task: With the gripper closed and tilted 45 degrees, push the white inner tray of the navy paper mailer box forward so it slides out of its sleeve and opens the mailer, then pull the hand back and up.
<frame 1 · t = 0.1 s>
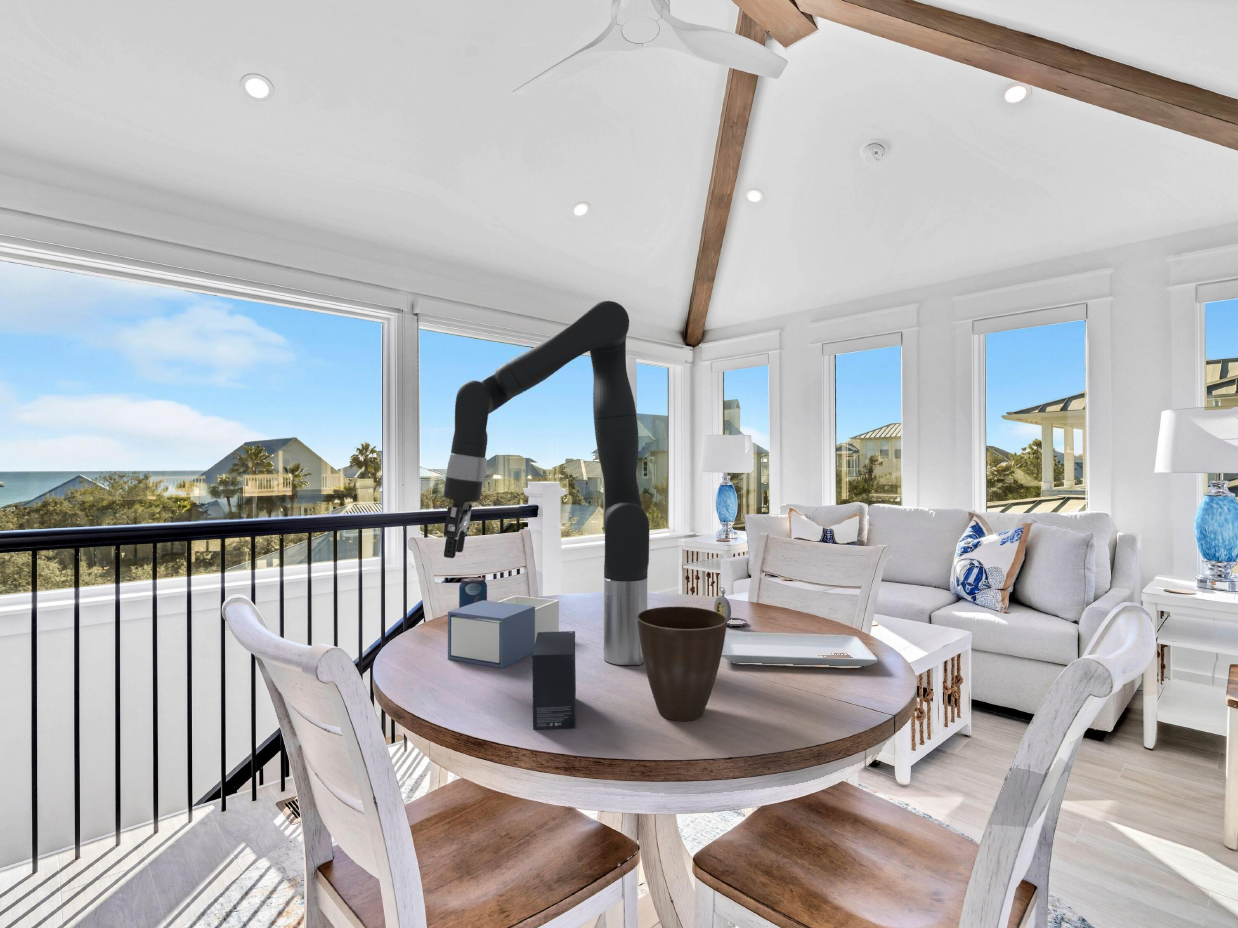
hand: (453, 554, 129), 22 cm above the table, tool pointing down, fingers open, 8 cm apart
pocket watch: (729, 625, 160), on the table
plant pot: (681, 713, 103), on the table
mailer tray: (492, 655, 134), resting on mailer sleeve, slide at 0.0 cm
tray: (791, 660, 133), on the table
soda can: (473, 626, 158), on the table
mailer sleeve: (492, 655, 134), on the table
small box: (555, 714, 103), on the table
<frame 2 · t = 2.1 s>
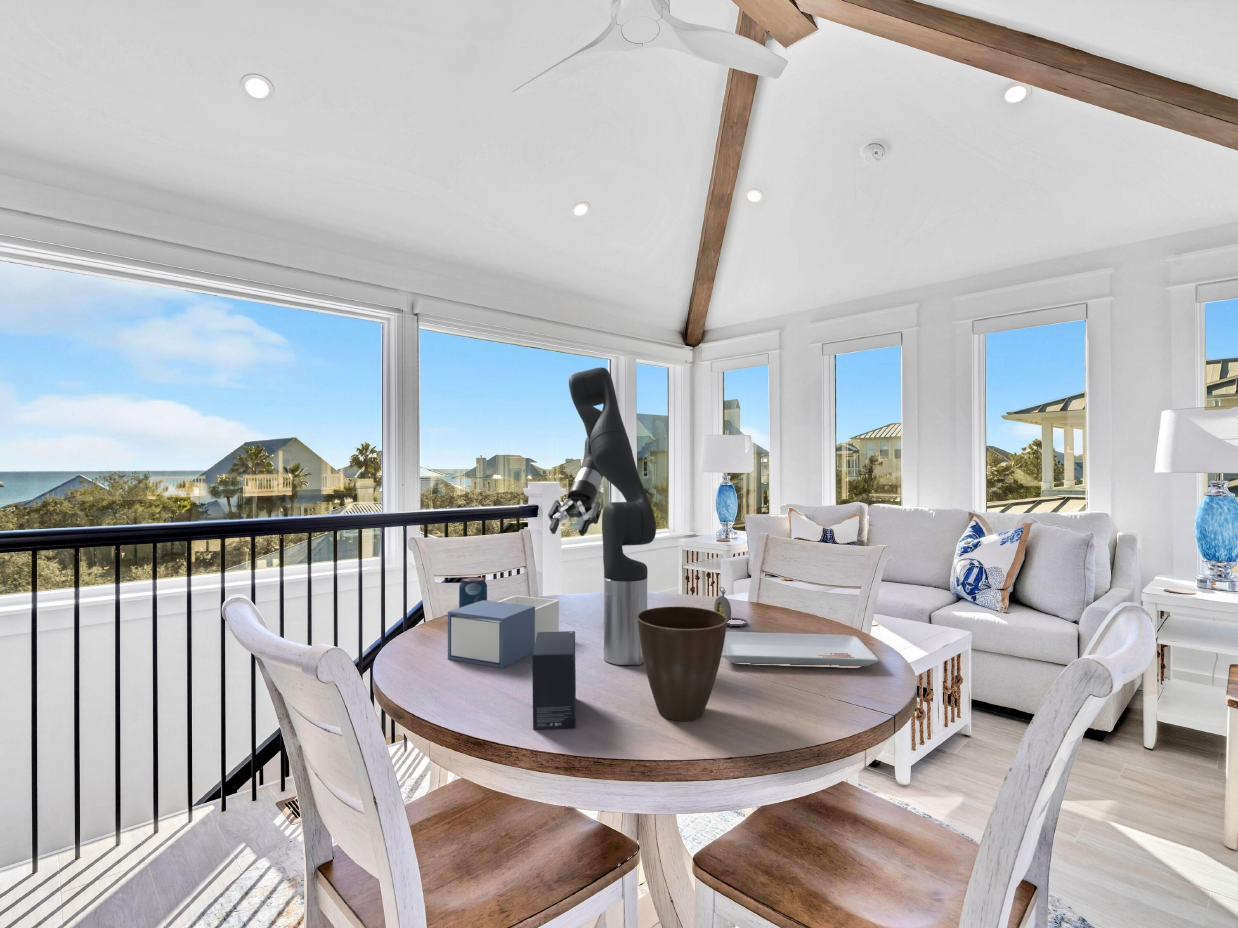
hand: (566, 533, 165), 23 cm above the table, tool tilted 45°, fingers open, 8 cm apart
nothing on the table moved.
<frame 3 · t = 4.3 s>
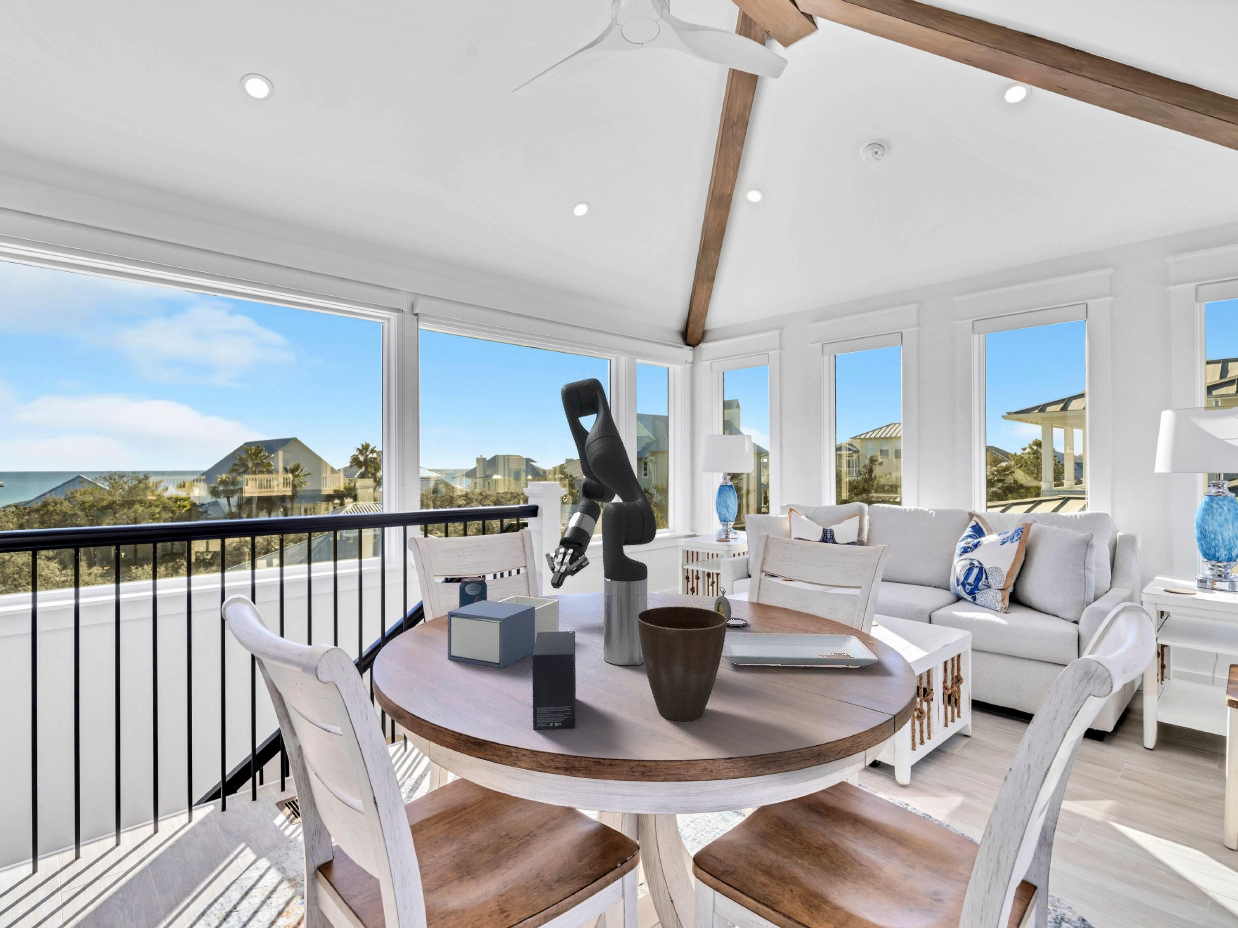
hand: (555, 586, 158), 10 cm above the table, tool tilted 45°, fingers closed
nothing on the table moved.
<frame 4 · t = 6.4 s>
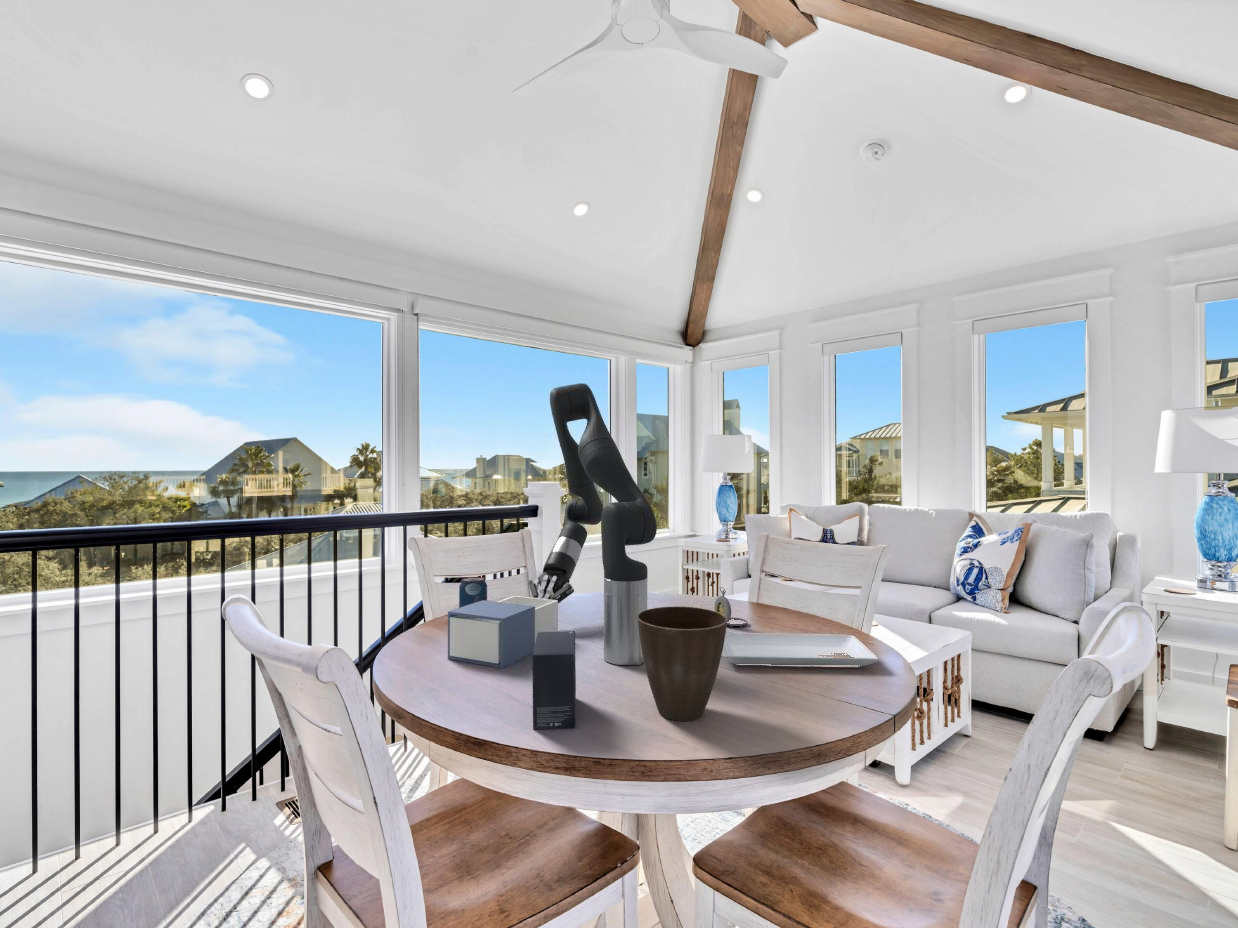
hand: (537, 616, 150), 4 cm above the table, tool tilted 45°, fingers closed
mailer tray: (490, 655, 133), resting on mailer sleeve, slide at 0.4 cm, touching gripper
everything else where it was.
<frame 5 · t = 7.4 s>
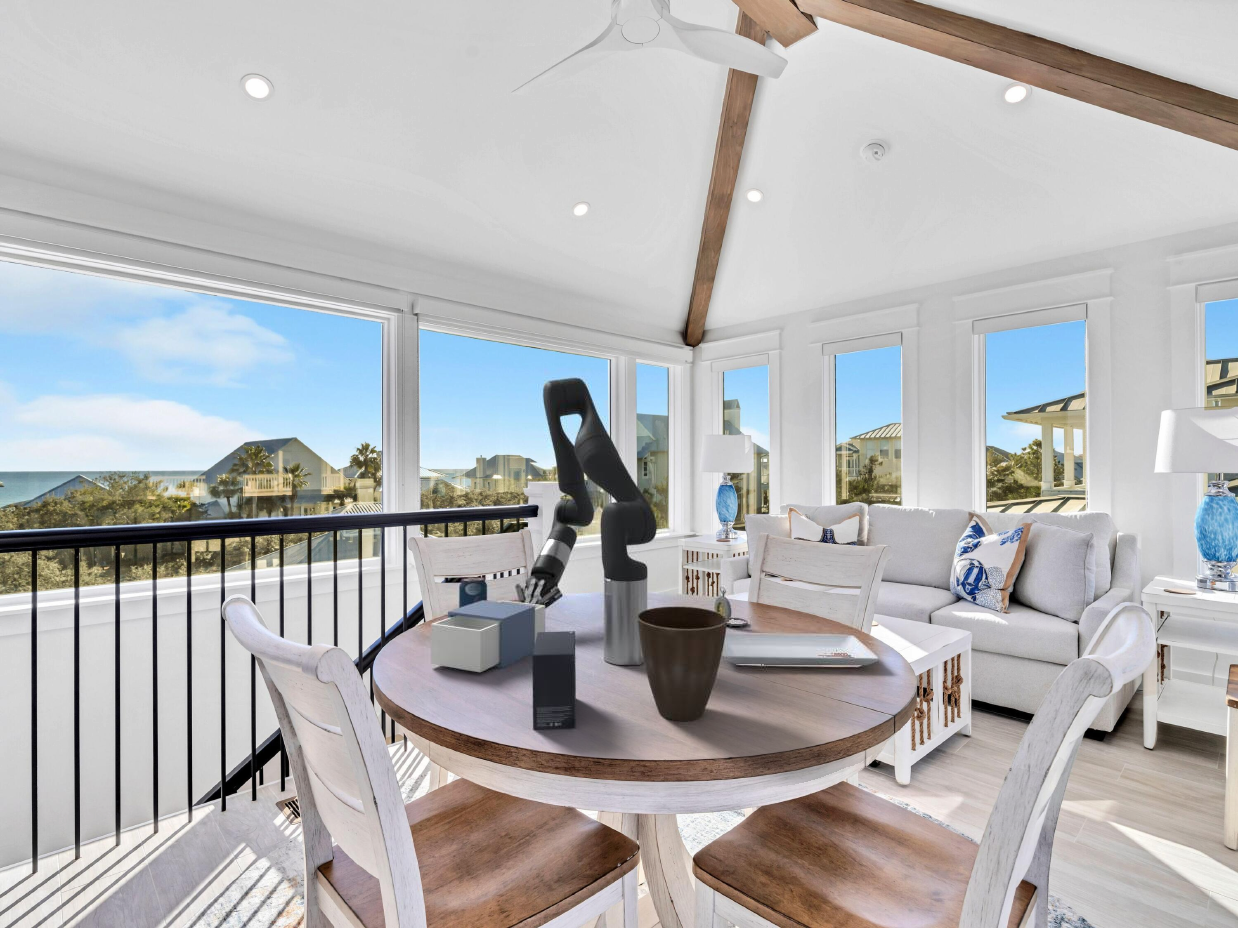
hand: (524, 621, 145), 4 cm above the table, tool tilted 45°, fingers closed
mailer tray: (474, 663, 128), resting on mailer sleeve, slide at 6.2 cm, touching gripper
everything else where it was.
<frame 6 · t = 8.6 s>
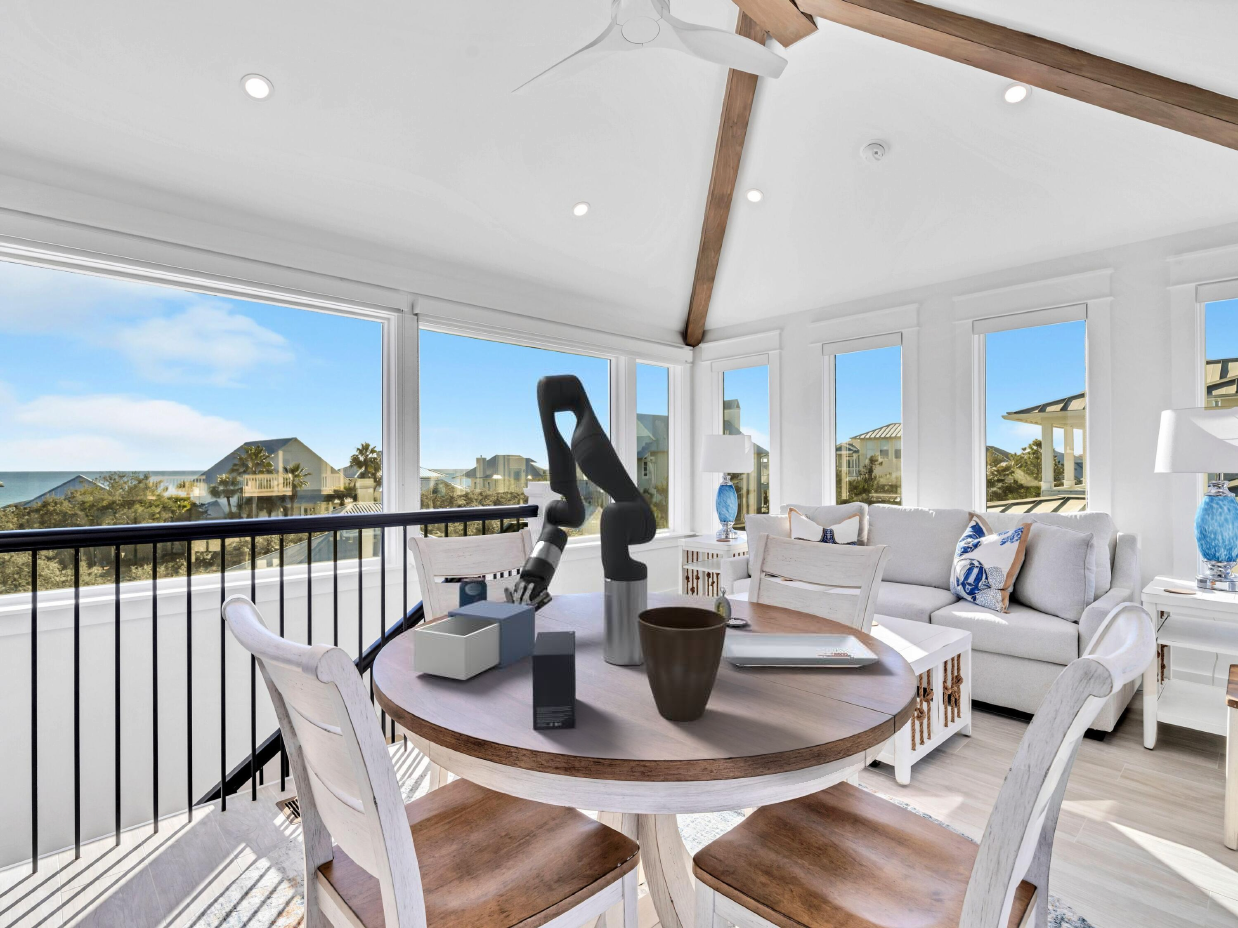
hand: (512, 626, 141), 4 cm above the table, tool tilted 45°, fingers closed
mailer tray: (459, 670, 124), resting on mailer sleeve, slide at 10.9 cm, touching gripper
everything else where it was.
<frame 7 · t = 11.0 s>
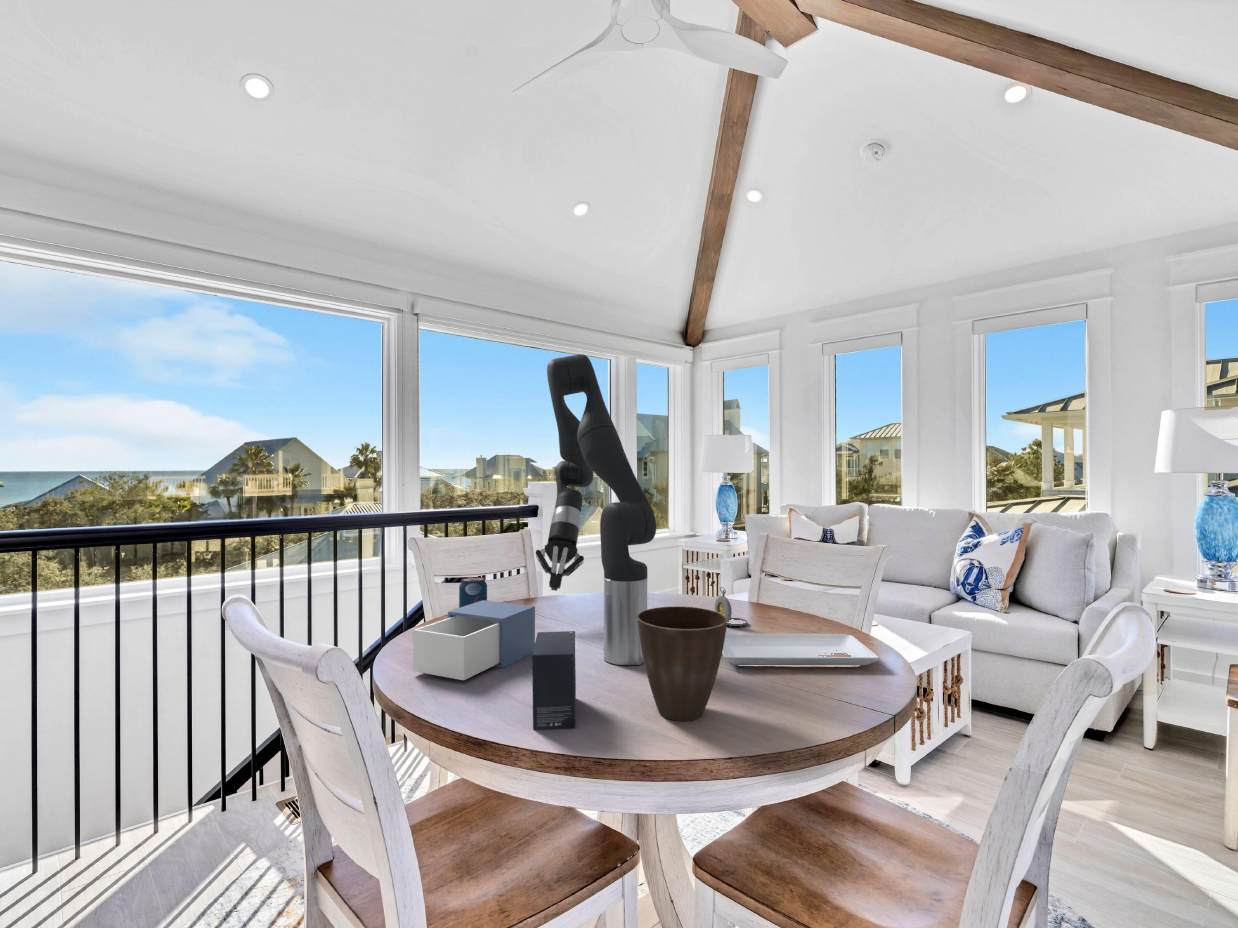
hand: (554, 589, 153), 10 cm above the table, tool tilted 35°, fingers closed
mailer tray: (458, 670, 124), resting on mailer sleeve, slide at 11.1 cm
everything else where it was.
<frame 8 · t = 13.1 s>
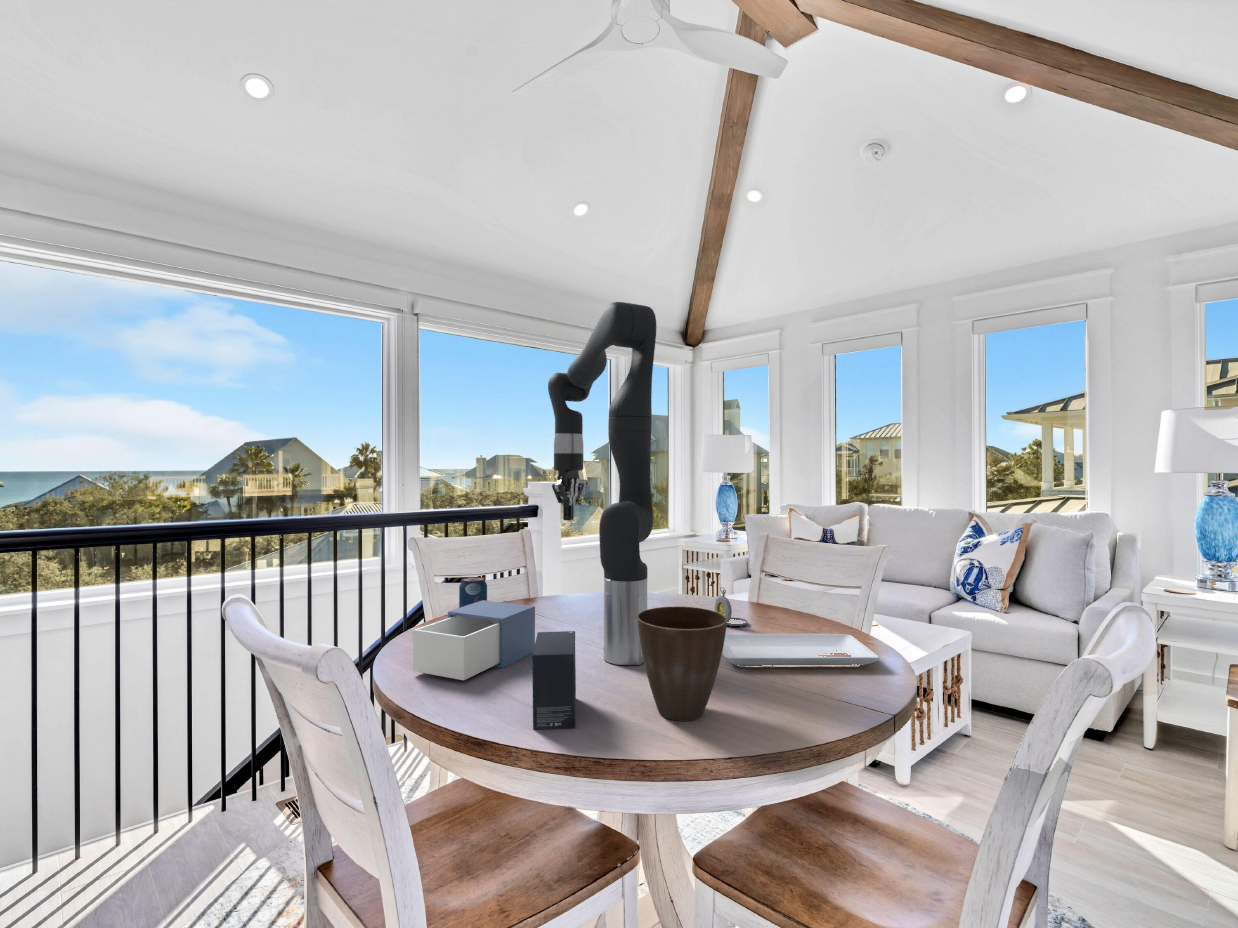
hand: (568, 520, 158), 27 cm above the table, tool pointing down, fingers closed
at the end: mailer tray slide at 11.1 cm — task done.
